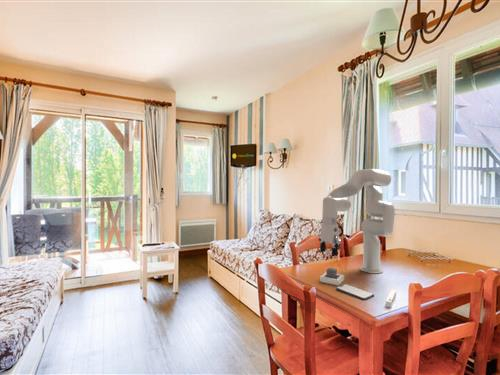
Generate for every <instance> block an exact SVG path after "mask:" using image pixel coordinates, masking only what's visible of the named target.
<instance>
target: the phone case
mask: <svg viewBox="0 0 500 375" xmlns="http://www.w3.org/2000/svg"><path fill="white" fill-rule="evenodd" d="M335 290H336V291H338V292H339V293H343V294H346V295H348V296H350V297H353V298H356V299H359V300H361V301H368V300H369V299H370V300H371V299H372V298H375V296H374V293H371V292H368V291H367V290H363V289H360V288H359V287H358V288H357V287H355V286H352V285H350V284H345V283H344V284H340V285H339V286H336V287H335Z"/></svg>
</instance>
